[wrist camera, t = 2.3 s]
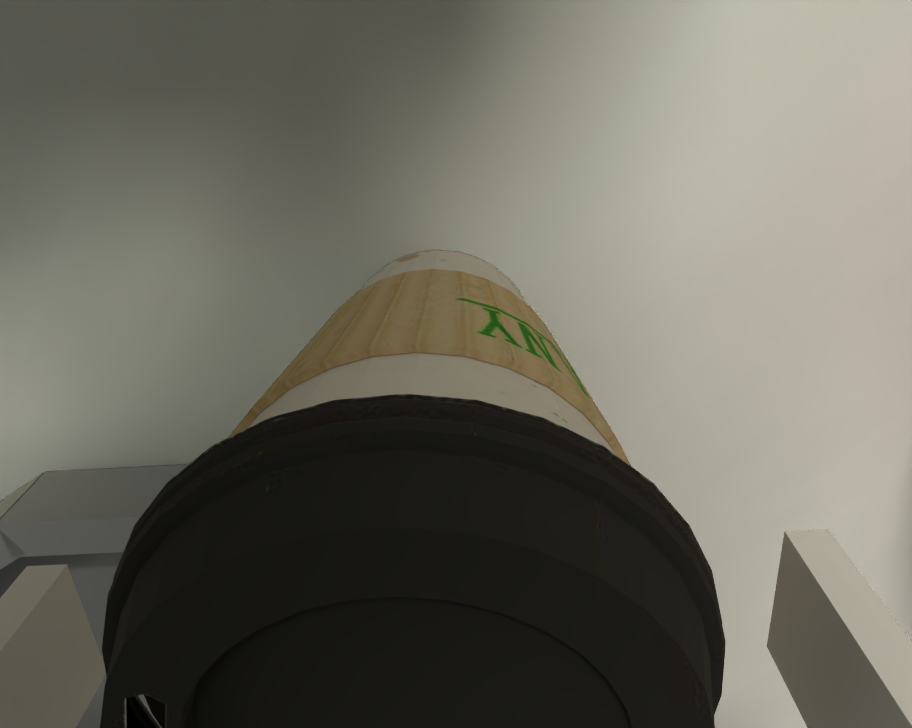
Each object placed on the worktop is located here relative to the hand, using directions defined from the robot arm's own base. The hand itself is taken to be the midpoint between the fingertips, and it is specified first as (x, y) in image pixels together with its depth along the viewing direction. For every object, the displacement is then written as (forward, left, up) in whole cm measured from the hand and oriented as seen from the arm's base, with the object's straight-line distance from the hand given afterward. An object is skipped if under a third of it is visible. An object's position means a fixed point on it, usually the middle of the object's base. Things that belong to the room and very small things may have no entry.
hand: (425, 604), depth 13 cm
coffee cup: (0, 0, -12) cm, 12 cm away
